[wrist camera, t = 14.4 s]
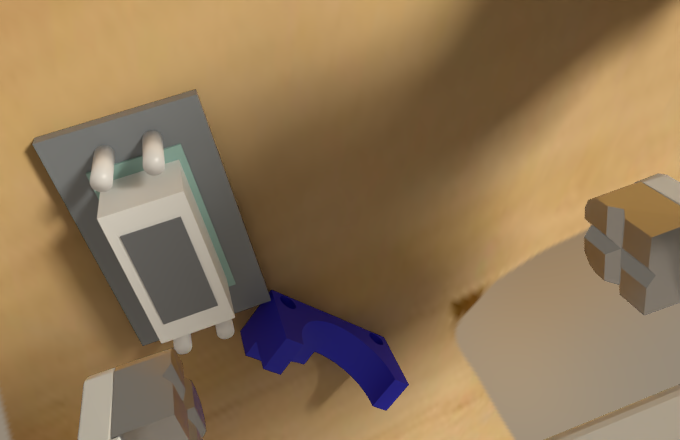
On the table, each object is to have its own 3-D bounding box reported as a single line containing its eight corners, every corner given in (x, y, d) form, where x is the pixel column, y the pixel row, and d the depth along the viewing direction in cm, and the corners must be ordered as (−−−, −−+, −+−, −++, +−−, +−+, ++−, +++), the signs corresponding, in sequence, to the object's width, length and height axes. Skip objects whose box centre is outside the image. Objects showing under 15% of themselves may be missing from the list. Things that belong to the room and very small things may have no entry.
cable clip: (239, 330, 48) (251, 383, 43) (270, 288, 47) (286, 338, 42) (353, 372, 54) (375, 423, 49) (383, 336, 53) (408, 384, 48)
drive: (178, 159, 38) (183, 191, 34) (226, 279, 44) (235, 318, 40) (100, 183, 37) (96, 219, 34) (159, 302, 43) (161, 344, 39)
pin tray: (195, 89, 37) (202, 116, 33) (268, 292, 47) (281, 334, 43) (34, 137, 36) (21, 172, 32) (142, 337, 45) (143, 384, 41)
